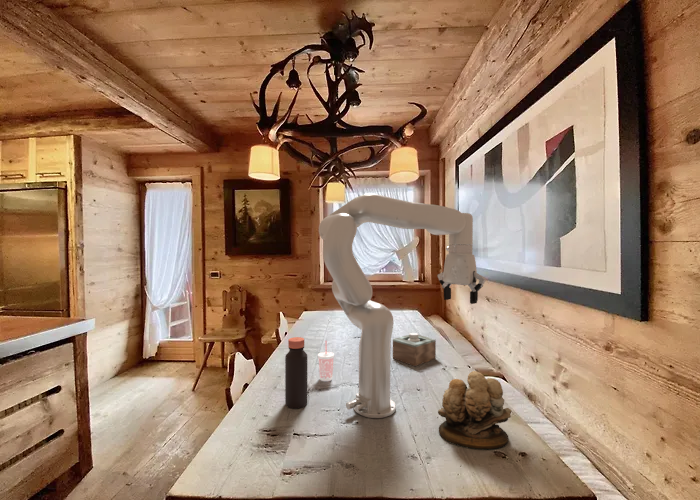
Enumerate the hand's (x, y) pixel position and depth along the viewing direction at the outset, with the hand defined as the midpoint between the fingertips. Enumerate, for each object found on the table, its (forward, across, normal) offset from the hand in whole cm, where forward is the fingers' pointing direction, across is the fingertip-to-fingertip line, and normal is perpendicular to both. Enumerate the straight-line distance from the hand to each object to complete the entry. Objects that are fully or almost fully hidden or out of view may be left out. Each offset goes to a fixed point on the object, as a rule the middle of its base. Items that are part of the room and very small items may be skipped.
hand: (460, 301), depth 110 cm
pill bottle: (+30, -30, +13) cm, 44 cm away
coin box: (+30, -30, +13) cm, 45 cm away
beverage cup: (+31, -37, -29) cm, 56 cm away
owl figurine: (+31, +17, -20) cm, 40 cm away
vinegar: (+31, -27, -47) cm, 62 cm away
